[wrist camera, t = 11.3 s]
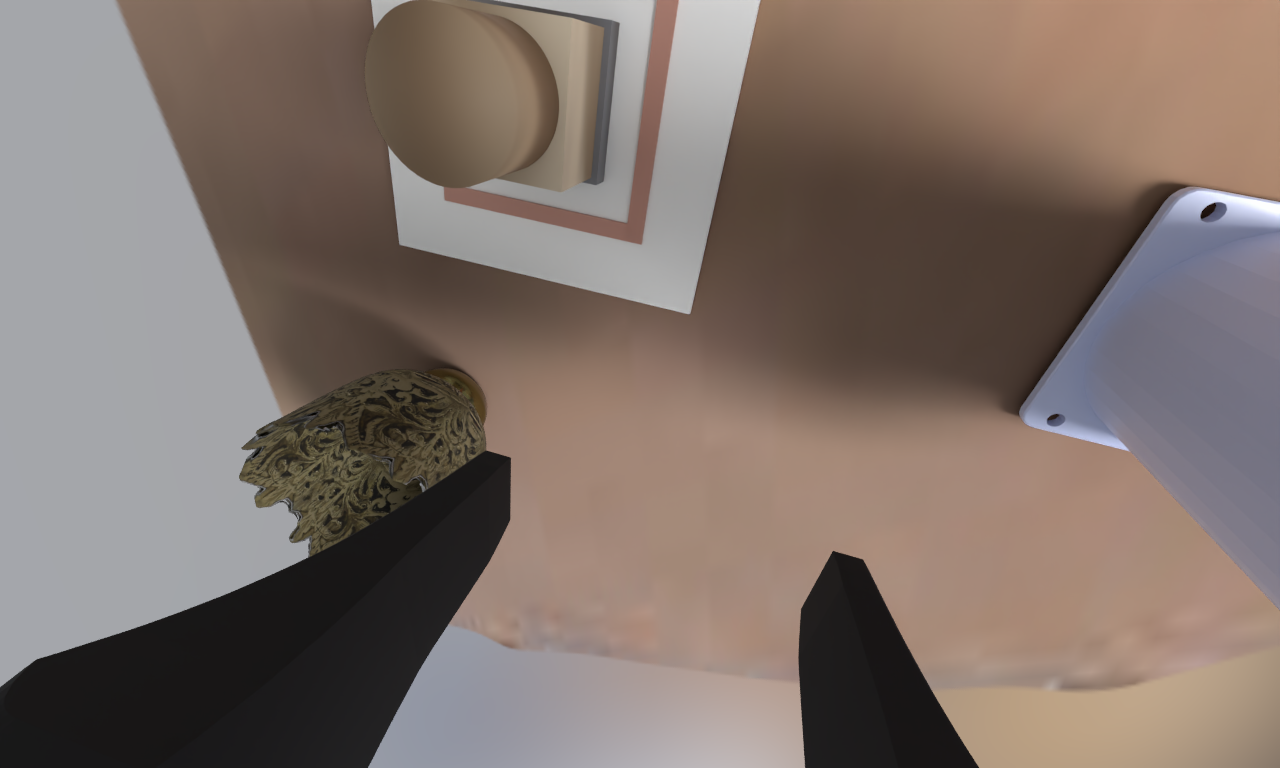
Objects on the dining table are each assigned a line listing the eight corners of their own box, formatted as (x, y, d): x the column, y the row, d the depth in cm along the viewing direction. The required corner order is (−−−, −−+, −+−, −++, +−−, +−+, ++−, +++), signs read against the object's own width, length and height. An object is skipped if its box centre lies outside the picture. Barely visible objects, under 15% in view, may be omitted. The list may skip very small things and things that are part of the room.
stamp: (619, 22, 15) (534, -8, 10) (603, 181, 17) (528, 222, 12) (480, -1, 15) (331, -41, 10) (483, 156, 17) (364, 185, 12)
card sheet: (789, -128, 12) (789, -134, 12) (690, 311, 19) (689, 315, 19) (357, -182, 14) (346, -189, 14) (404, 242, 20) (398, 245, 20)
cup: (359, 340, 24) (194, 442, 17) (485, 307, 21) (348, 411, 14) (436, 463, 27) (321, 589, 20) (554, 448, 24) (467, 587, 18)
